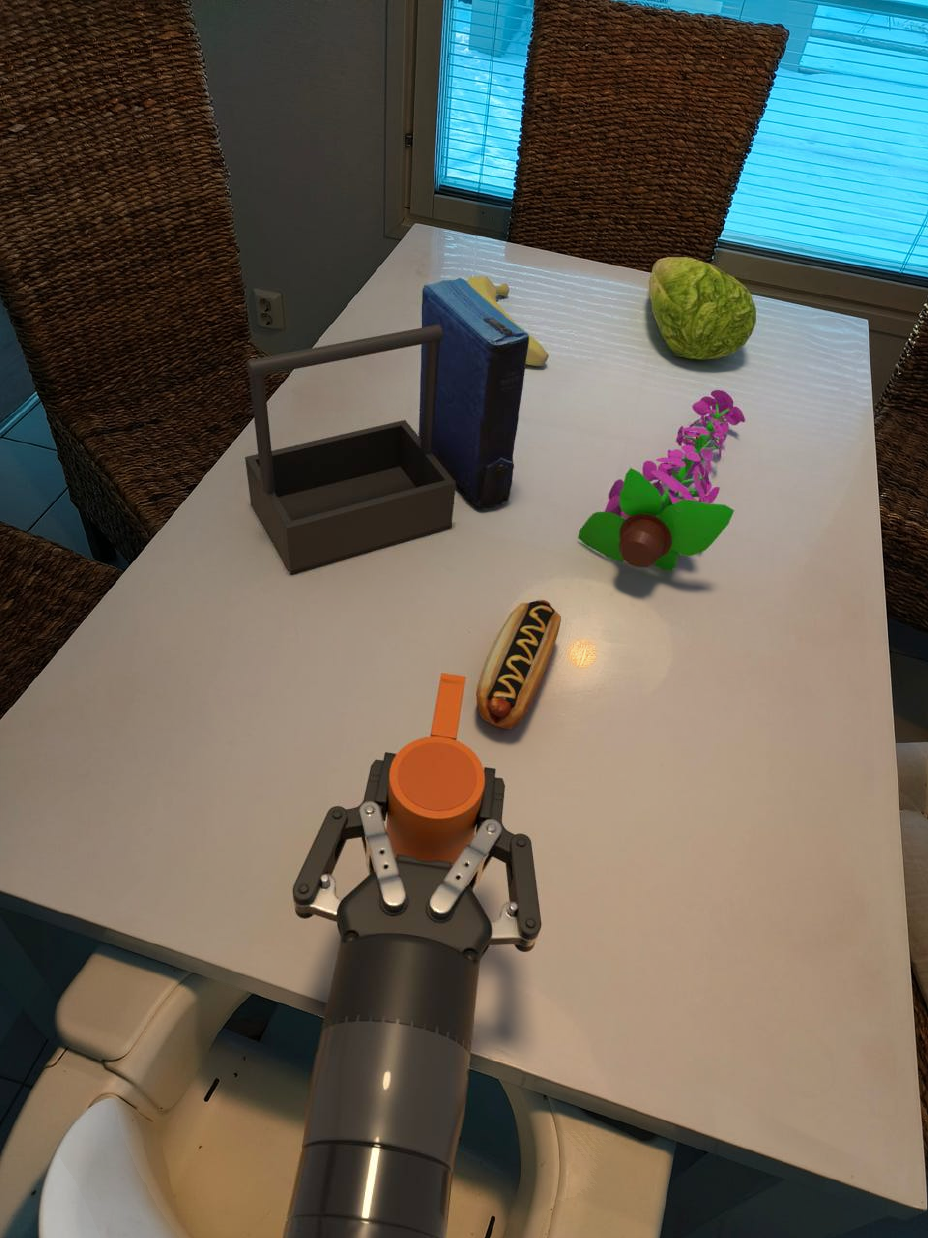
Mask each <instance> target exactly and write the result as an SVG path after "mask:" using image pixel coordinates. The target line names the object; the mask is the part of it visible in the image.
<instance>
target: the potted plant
mask: <svg viewBox="0 0 928 1238" xmlns="http://www.w3.org/2000/svg"><path fill="white" fill-rule="evenodd" d="M691 408H692V410H693V411H694V412H695V413H696V414H697V415H698V416H700V418H698V419H697V420H695V421H694V422H693V423H692V424H690V426H687V427H684V425H681V426H680V427H679V429H678V430H677V436H676V439H675V442H676V443H677V445H678V446H679V447H680V448H681V449H679V448H677V449H673V450H671V449H668V450H667V457H666V456H665V457H660V458H657V459H655V461H657V462H660V464H659V465H658V466H657V465H656V463H655V462H654V461H652V460H645V461H643V464H642V468H641V469H642V470H641V471H642V473H641V472H640V471H638V470H636V469H634V468H632V467H630V468H629V469H628V471H627V472H626V473H625V476H624V480H623V479H620V478H619V479H617V480H615V481H614V483H613V484H612V486H611V487H610V490H609V492H608V500H609V501H608V502H607V503H606V507H605V509H604V511H597V512H594V513H592V514H591V515H590V516H589V517H588V518H587V520H586V521H585V522H584V524H583V525H582V526H581V528H580V529H579V532H578V537H577V538H578V540H579V541H581V542H582V543H583V544H584V545H585V546H587V547H589V548H590V549H592V550H594V551H596V552H598V553H599V554H601V555H603V556H605V557H606V558H608V559H610V560H614V561H618V562H626V563H627V564H628V565H630V566H632V567H635V568H647V567H651V566H654V567H656V568H658V569H661V570H665V571H669V572H672V571H673V570H674V569H675V568H676V567H677V562H678V558H679V555H681V556H682V557H692V556H696V555H698V554H701V553H703V552H704V551H706V550H707V549H709V548H710V546H711V545H712V544H713V543H714V542H715V541H716V540H717V539H718V538H719V536H720V535H721V534H722V532H724V530H725V529H726V528H727V526H728V525H729V524H730V522H731V520H732V517H733V515H734V512H735V509H733V508H732V507H729V506H728V505H726V504H724V503H723V504H722V503H713V502H714V501H715V500H716V499H717V497H718V495H719V493H720V490H721V487H720V486H715V487H713V484H712V482H711V481H710V476H709V475H710V473H711V470H712V463H711V462H712V461H713V449H716V450H717V449H718V461H720V460H721V458H722V449H723V443H725V441H726V440H727V436H725V435H726V434H727V433H728V432H729V429H730V427H729V424H730V425H731V426H737V425H738V424H740V423H745V422H746V418H745V415H744V413H743V411H742V409H740V407H737V406H734V399H733V398H732V396H731V395H730V394H728V393H727V392H726V391H724V390H723V389H722V390H721V389H714V390H712V391H710V396H707V395H706V396H703V397H701V398H700V400H697V401H695V402H694V403H693V404H692V405H691ZM698 422H700V425H701V426H702V427H701V426H699V425H698ZM707 423H708V425H707ZM693 426H694V427H693ZM709 438H711V439H709ZM708 440H709V441H708ZM713 441H714V443H715V446H711V447H709V446H708V445H710V443H711V442H713ZM683 444H684V445H683ZM699 454H700V455H701V457H700V455H699ZM683 457H684V458H683ZM701 460H703V462H704V463H705V466H704V464H703V463H702V462H701ZM687 475H693V476H692V478H687V479H685V478H686V477H687ZM654 481H655V482H654ZM651 482H653V483H651ZM692 482H693V483H694V487H695V489H693V488H688V487H687V486H685V485H683V484H687V483H692ZM663 484H664V485H665V486H667V487H666V488H664V486H663ZM697 498H698V500H697Z"/></svg>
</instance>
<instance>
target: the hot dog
mask: <svg viewBox="0 0 928 1238" xmlns="http://www.w3.org/2000/svg"><path fill="white" fill-rule="evenodd" d="M561 622H562V616H561V614H559V613H558V612H557V611H556V610H555V609H554V608H553V607H552V606H551V603H550V602H549V601H547V600H546V599H537V600H534V601H531V602H522V603H519V604H518V605H517V606H516V608H514V610H512V612H511V613H509V615H508V617H507V619H506V620H505V621H504V623H503V625H502V627H501V629H500V630H499V631H498V633H497V634H496V637H495V639H494V641H493V644H492V646H491V648H490V650H489V652H488V654H487V656H486V658H485V661H484V664H483V667H482V670H481V673H480V677H479V678H478V679H479V680H478V683H477V686H476V690H475V691H476V692H475V696H476V697H475V698H476V706H477V709H478V712H479V715H480V716H481V718H482V719H483V720H484V721H486V722H487V723H488V724H491V725H493V726H495V727H496V728H500V729H506V730H511V729H513V728H515V727H517V726H518V725H519V723H520V722H521V721H522V720H523V719H524V718H525V716H526V714H527V712H528V710H529V708H530V706H531V704H532V701H533V700H534V698H535V696H536V693H537V691H538V690H539V687H540V685H541V683H542V680H543V678H544V675H545V673H546V670H547V667H548V666H549V663H550V660H551V657H552V653H553V650H554V647H555V644H556V641H557V638H558V635H559V631H560V626H561Z"/></svg>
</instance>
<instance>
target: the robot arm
mask: <svg viewBox="0 0 928 1238" xmlns="http://www.w3.org/2000/svg"><path fill="white" fill-rule="evenodd" d="M396 755H397V753H394V752H389V751H386V752H385V751H384V755H383V759H375V760H374V761H373V762H372V764H371V765H370V768H369V774H368V778H367V782H366V787H365V791H364V796H363V799H362V802H361V803H360V804H359V805H358V806H356V807H353V808H345V807H344V806H341V805H335V806H332V807H331V808H329V809H328V811H326V815H325V816H324V818H323V821H322V823H321V826H320V828H319V829H318V832H317V834H316V837H315V838H314V840H313V843H312V845H311V847H310V848H309V851H308V853H307V856H306V858H305V860H304V862H303V864H302V866H301V867H300V868H301V869H300V870H299V873H298V875H297V877H296V879H295V881H294V884H293V885H292V891H291V892H292V901H293V902H292V903H293V907H294V912H295V914H296V916H297V917H299V918H300V919H304V920H305V919H310V918H312V917H313V916H317V917H320V918H323V919H326V920H329V921H332V922H335V923H336V926H337V930H338V932H339V933H338V934H339V936H340V937H339V938H340V939H339V945H338V951H337V956H336V960H335V964H334V969H333V973H332V978H331V984H330V987H329V992H328V995H327V996H328V997H327V1001H326V1006H325V1010H324V1014H323V1020H322V1024H321V1029H320V1035H319V1038H318V1043H317V1044H318V1045H317V1048H316V1053H315V1056H314V1060H313V1065H312V1071H311V1075H310V1081H309V1085H308V1090H307V1096H306V1105H305V1118H304V1119H305V1120H304V1128H303V1135H302V1136H303V1137H302V1143H301V1151H300V1152H299V1158H298V1162H297V1167H296V1171H295V1175H294V1176H295V1177H294V1181H293V1186H292V1191H291V1195H290V1199H289V1205H288V1210H287V1213H286V1221H285V1224H284V1229H283V1234H282V1238H447V1234H448V1233H447V1232H448V1223H449V1214H450V1204H451V1193H452V1184H453V1175H454V1174H453V1173H454V1170H455V1169H454V1168H455V1162H456V1155H457V1151H458V1146H459V1142H460V1138H461V1134H462V1130H463V1124H464V1120H465V1112H466V1105H467V1095H468V1088H469V1072H470V1063H471V1054H472V1044H473V1033H474V1025H475V1011H476V1004H477V994H478V984H479V976H480V975H479V974H480V965H481V960H482V958H483V956H484V954H485V953H486V952H487V951H488V949H489V946H500V945H501V946H505V945H507V946H508V945H513V946H514V947H515V948H516V950H517V951H520V952H522V953H528V952H530V951H532V950H533V949H534V947H535V945H536V942H537V940H538V937H539V934H540V932H541V929H542V917H541V909H540V901H539V892H538V884H537V876H536V869H535V862H534V861H535V860H534V854H533V852H534V851H533V846H532V845H533V844H532V840H531V838H530V837H529V836H528V835H527V834H525V833H516V834H515V833H513V832H511V831H509V830H508V829H506V828H505V826H504V824H503V811H504V802H505V801H504V800H505V793H506V792H505V791H506V784H505V781H504V778H502V777H496V768H494V767H488V766H483V769H484V773H485V786H484V791H483V796H482V800H481V805H480V810H479V815H478V820H477V825H476V829H475V834H474V837H473V839H472V840H471V842H470V843H469V844H468V845H466V847H465V848H464V849H463V851H462V852H461V854H460V856H459V857H458V859H457V860H456V862H455V863H454V865H453V866H451V863H452V862H447V861H440V860H436V861H421V860H419V859H416V858H414V857H412V856H406V855H400V854H397V858H395V856H394V853H393V849H392V846H391V842H390V838H389V835H388V833H387V832H386V825H385V822H386V821H387V807H388V786H389V771H390V767H391V764H392V761H393V759H394V758H395V756H396ZM359 838H360V840H361V844H362V848H363V853H364V856H365V860H366V861H365V862H366V868H367V873H368V875H367V876H366V877H365V878H364V879H363V880H362V881H360V883H358V885H356V886H355V887H354V888H353V889H351V891H350V892H348V894H346V895H345V896H344V897H343V898H342V899H341V898H340V897H338V895H337V881H336V878H335V877H334V876H333V873H334V871H335V869H336V866H337V864H338V861H339V859H340V857H341V854H342V852H343V851H344V848H345V846H346V843H347V840H352V839H353V840H354V839H359ZM493 858H494V859H496V860H498V861H499V862H502V863H504V864H505V871H506V882H507V891H508V901H506V902H505V903H504V904H503V905H502V906H501V909H500V913H499V915H498V916H499V917H498V919H496V920H494V921H491V920H490V918H489V916H488V914H487V913H486V911H485V909H484V907H483V906H482V904H481V903H480V901H479V899H478V897H477V896H476V893H475V892H474V891H475V889H476V888H477V886H478V884H479V883H480V881H481V878H482V876H483V874H484V872H485V871H486V870H487V868H488V866H489V865H490V863H491V861H492V859H493Z"/></svg>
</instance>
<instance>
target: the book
mask: <svg viewBox="0 0 928 1238" xmlns="http://www.w3.org/2000/svg"><path fill="white" fill-rule="evenodd" d="M421 294H422V295H421V299H422V300H421V328H423V327H428V326H434V325H440V327H441V329H442V332H443V338H442V340H441V341H440V345H439V359H438V373H437V388H436V402H435V417H434V431H433V445H432V454H433V455H434V456H435V457H436V459H437V460H438V461H439V462H440V463H441V465H442V466H443V467H444V468H445V470H446V471H447V472H448V473H449V475H450V476H451V477H452V479H453V480H454V481H455V482H456V485H457V487H458V488H460V489H461V490H462V492H463V493H464V494H465V497H466V498H468V499H469V500H470V502H471V503H472V504H474V505H476V506H477V507H479V508H489V507H493V506H499V505H500V506H501V505H503V504H504V503H506V502H508V501H509V498H510V495H511V490H512V484H513V475H514V470H515V462H514V450H515V442H516V438H517V432H518V425H519V420H520V409H521V402H522V394H523V390H524V389H523V387H524V378H525V371H526V364H525V363H526V356H527V350H528V345H529V335H530V334H529V333H528V332H527V331H526V330H525V329H524V328H522V327H521V326H520V327H521V328H522V329H521V328H520V327H518V326H517V325H518V324H517V323H516V324H517V325H516V324H514V323H513V322H512V321H510V320H509V319H508V318H507V317H505V316H504V315H503V314H502V313H501V312H500V311H499V310H498V309H496V308H495V307H494V306H493V305H492V304H491V303H489V302H488V301H487V300H486V299H485V298H483V297H482V296H481V295H480V294H479V293H478V292H477V291H476V290H474V289H473V288H472V287H471V286H470V285H469V284H468V283H467V282H466V279H465V278H462V277H458V278H456V279H446V280H445V279H443V280H440V281H437V282H434V283H429V284H427V283H426V284H424V285H423V287H422V292H421ZM524 330H525V331H526V332H525V331H524ZM527 333H528V334H529V335H528V334H527ZM426 344H427V343H426ZM426 344H420V346H421V347H420V377H419V378H420V382H419V392H420V393H419V413H418V414H419V415H418V424H419V425H418V436H419V438H420V439H421V432H422V414H423V397H424V379H425V362H426Z"/></svg>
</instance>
